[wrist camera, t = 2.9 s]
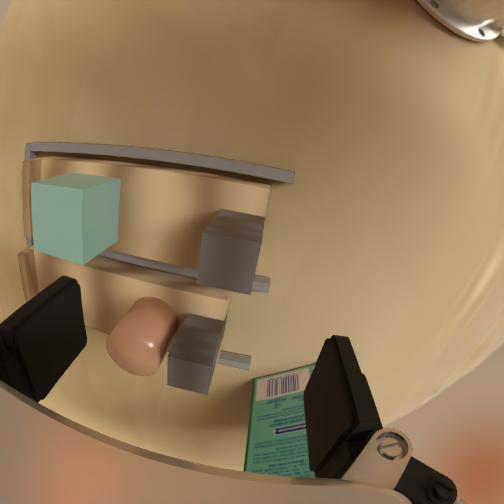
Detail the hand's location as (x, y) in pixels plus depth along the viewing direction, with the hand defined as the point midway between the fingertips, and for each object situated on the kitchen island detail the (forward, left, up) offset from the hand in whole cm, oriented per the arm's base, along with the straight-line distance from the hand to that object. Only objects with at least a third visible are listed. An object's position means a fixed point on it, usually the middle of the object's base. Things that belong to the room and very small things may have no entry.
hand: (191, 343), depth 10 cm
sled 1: (+9, -1, -14) cm, 17 cm away
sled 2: (+10, +8, -14) cm, 19 cm away
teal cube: (+12, -1, -12) cm, 17 cm away
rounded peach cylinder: (+6, +8, -12) cm, 15 cm away
